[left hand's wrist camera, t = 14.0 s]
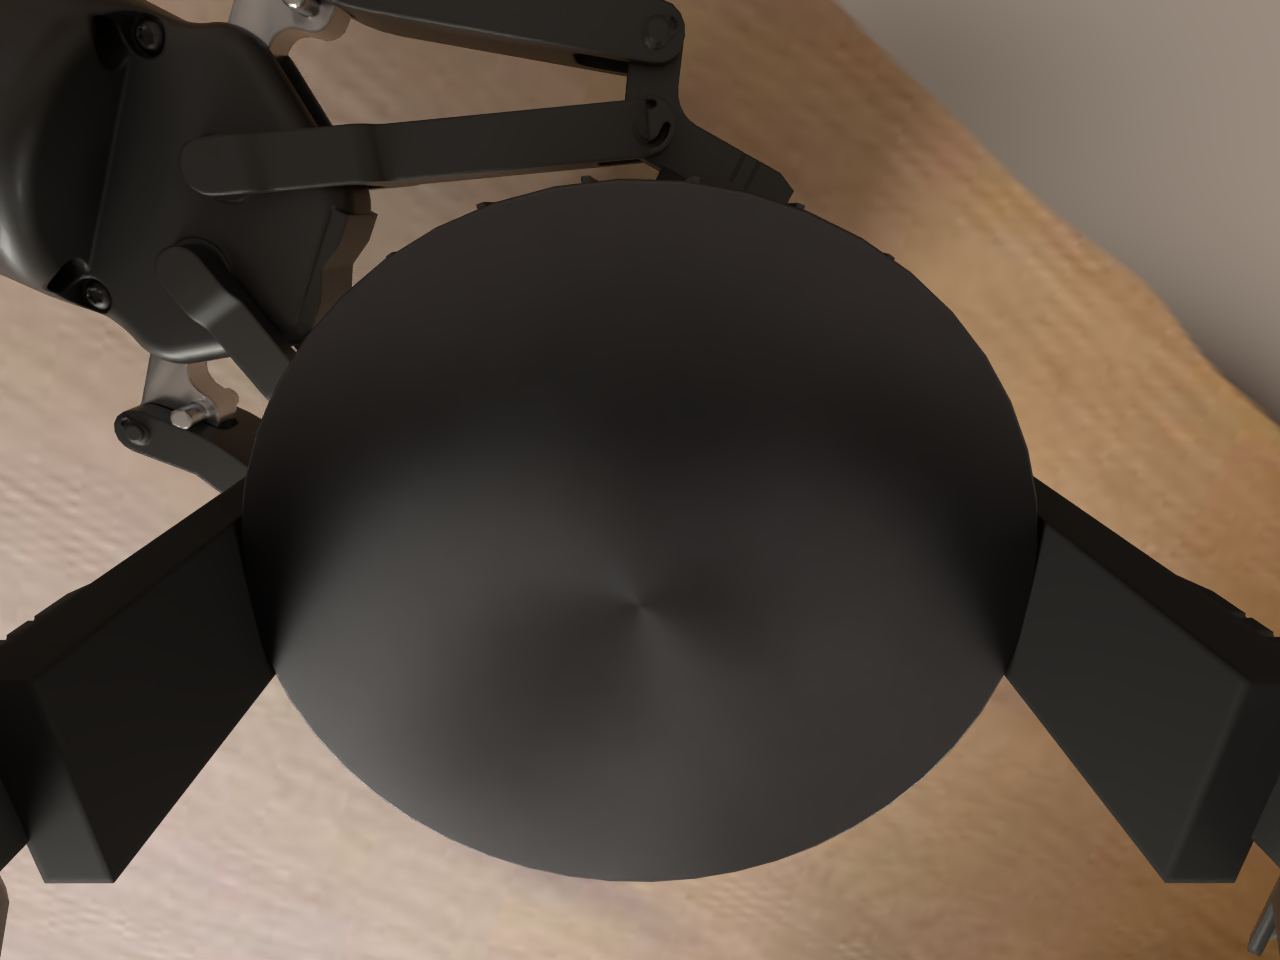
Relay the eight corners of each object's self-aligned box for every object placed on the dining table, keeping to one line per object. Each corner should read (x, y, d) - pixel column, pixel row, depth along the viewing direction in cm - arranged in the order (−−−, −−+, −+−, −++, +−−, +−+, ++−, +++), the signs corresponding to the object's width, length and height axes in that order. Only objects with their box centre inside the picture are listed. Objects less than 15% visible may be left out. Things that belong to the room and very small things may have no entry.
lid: (391, 49, 10) (314, 0, 7) (1103, 338, 11) (1224, 373, 9) (264, 687, 14) (189, 784, 11) (797, 836, 15) (824, 947, 13)
